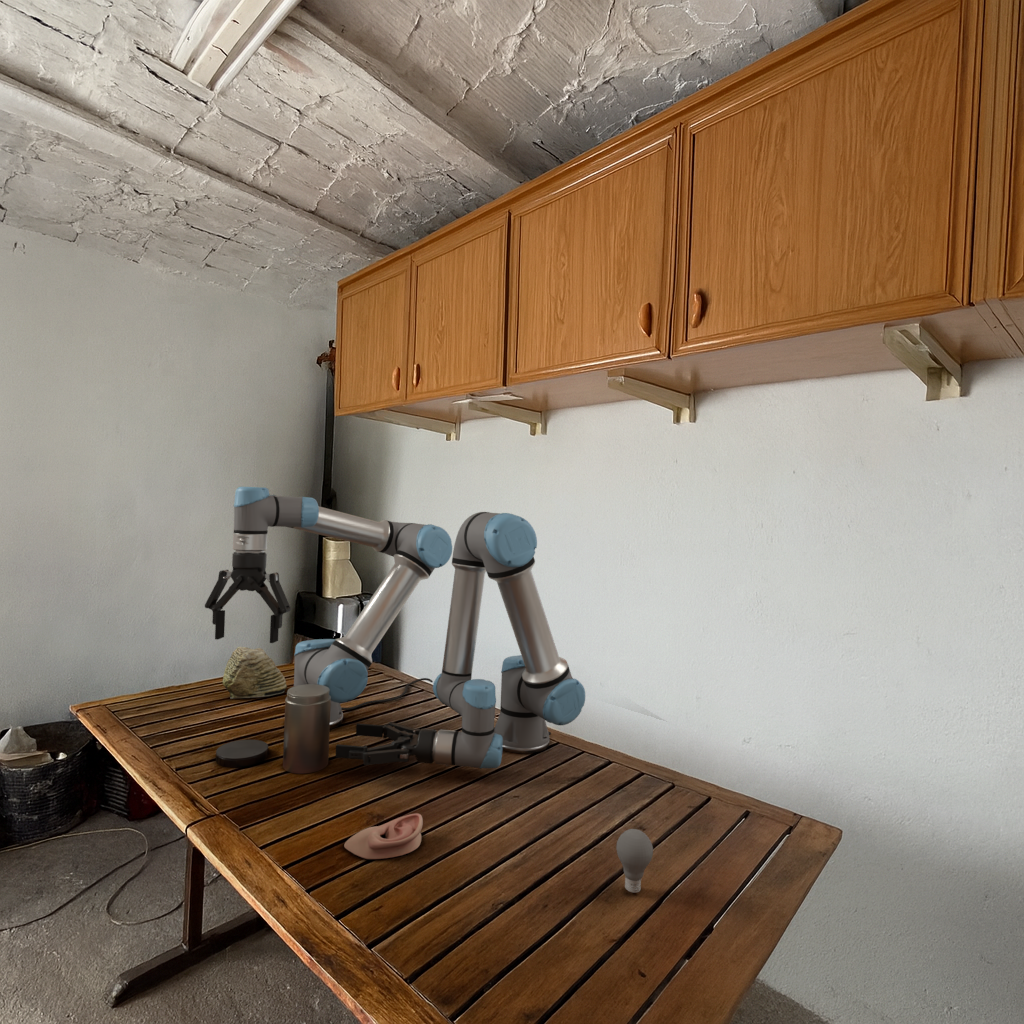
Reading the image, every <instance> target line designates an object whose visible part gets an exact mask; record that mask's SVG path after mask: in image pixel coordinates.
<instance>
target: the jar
mask: <svg viewBox="0 0 1024 1024" xmlns="http://www.w3.org/2000/svg"><path fill="white" fill-rule="evenodd" d="M329 692H330V689H329V688H328V687H327V686H324V685H317V684H306V685H299V686H295V687H294V686H292V687H290V688H288V689H287V692H286V695H287V696H286V697H285V700H284V722H283V723H284V726H283V727H284V728H283V749H282V750H283V751H282V752H283V753H282V769H283V770H284V771H286V772H287V773H291V774H301V775H302V774H311V773H316V772H319V771H321V770H323V769H325V768H326V767H327V766H328V765H329V757H330V756H329V755H330V733H331V732H330V730H331V729H330V707H331V696H330V695H329Z"/></svg>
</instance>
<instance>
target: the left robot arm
mask: <svg viewBox="0 0 1024 1024" xmlns="http://www.w3.org/2000/svg"><path fill="white" fill-rule="evenodd" d="M234 493H235V494H234V504H233V534H232V535H233V537H232V550H234V551H233V553H232V555H231V556H232V557H231V559H232V561H231V562H232V563H231V564H232V565H231V567H232V571H230V570H229V569H222V570H219V572H218V579H217V580H216V583H215V585H214V587H213V588H212V591H211V592H210V594H209V596H208V598H207V600H206V601H205V604H204V608H205V609H208V610H211V611H212V621H211V622H212V625H214V626H215V629H214V630H215V631H214V640H220V639H223V638H225V628H226V627H225V626H226V625H225V623H226V610H224V607H226V604H228V602H230V600H231V599H232V598H233V597H234V596H235V595H236V594H237V592H238V591H243V592H244V591H248V592H256V593H257V594H259V596H260V597H261V598H262V600H263V601H264V602H265V604H266V605H267V607H268V608H269V609H270V610H271V612H272V613H273V614H272V615H270V623H269V624H270V625H269V626H270V627H269V644H274V643H276V642H278V641H279V629H281V628H282V626H283V615H284V614H286V613H288V612H291V610H292V608H291V605H290V603H289V600H288V598H287V596H286V594H285V592H284V589H283V587H282V585H281V582H280V575H279V572H273V573H267V570H266V568H267V555H268V553H266V551H267V550H268V528H269V527H270V528H272V527H273V528H275V527H278V528H279V527H281V528H282V527H283V528H290V529H294V530H299V531H302V532H306V533H311V534H315V535H319V536H320V535H321V536H324V537H329V538H332V539H337V540H341V541H345V542H349V543H354V544H358V545H361V546H367V547H371V548H372V549H373V551H374V552H377V553H380V554H384V555H388V556H391V557H393V559H394V564H393V565H392V567H391V568H390V570H389V571H388V572H387V574H386V576H385V577H384V578H383V580H382V581H381V583H380V584H379V585H378V587H377V589H376V590H375V592H374V593H373V594H372V596H371V597H370V599H369V600H368V601H367V603H366V604H365V606H364V607H363V609H362V611H360V613H359V615H358V616H357V618H356V619H355V621H354V622H353V623H352V625H351V626H350V627H349V629H348V630H347V632H346V634H345V635H344V636H341V637H339V638H335V639H334V638H323V639H322V638H319V639H307V640H303V641H299V642H297V644H296V645H295V650H294V653H293V654H294V655H293V656H294V672H293V687H295V686H299V685H306V684H317V685H324V686H327V687H328V688H329V689H330V692H329V695H330V696H331V707H330V730H332V729H335V728H337V727H339V726H340V725H342V723H343V722H344V713H343V711H351V710H355V709H357V708H361V707H362V706H365V705H371V704H376V703H385V702H393V701H397V700H398V699H400V698H403V696H405V694H407V692H408V689H409V688H408V687H409V686H412V685H414V684H416V683H419V682H422V681H428V682H429V683H434V681H433V680H432V679H430V678H428V677H422V678H418V679H415V680H413V681H411V682H409V683H407V684H406V685H405V688H404V691H403V692H402V693H401V694H400V695H398V696H395V697H391V698H385V699H375V700H369V701H364V702H362V703H359V704H356V705H354V706H350V707H343V706H341V704H344V703H348V702H351V701H353V700H355V699H357V698H358V697H359V696H360V695H362V693H363V692H364V691H365V689H366V687H367V684H368V680H369V677H368V675H369V673H368V671H369V669H370V667H371V666H372V664H373V658H372V654H373V653H374V651H375V649H376V648H377V646H378V645H379V644H380V642H381V640H382V639H383V638H384V636H385V634H386V633H387V632H388V630H389V628H390V627H391V625H392V624H393V622H394V621H395V619H396V618H397V617H398V615H399V613H400V612H401V610H402V609H403V608H404V606H405V604H406V603H407V601H408V600H409V598H410V597H411V595H412V593H413V592H414V591H415V589H416V588H417V586H418V585H419V583H420V582H421V581H423V580H428V579H429V578H430V576H431V575H432V573H433V572H434V570H435V569H439V568H442V567H443V566H445V565H446V564H447V563H448V562H449V560H450V559H451V557H452V555H453V541H452V538H451V536H450V534H449V533H448V532H447V531H446V529H444V528H443V527H440V526H437V525H436V524H435V525H434V524H432V523H431V524H430V523H429V524H424V523H423V524H422V523H415V522H400V521H399V522H398V521H390V520H387V519H382V520H380V521H377V520H372V519H369V518H366V517H361V516H358V515H354V514H350V513H346V512H342V511H338V510H334V509H330V508H328V507H327V508H326V507H323V506H319V504H318V501H317V499H315V498H314V497H306V496H292V495H291V496H290V495H289V496H288V495H277V494H270V490H269V488H267V487H260V486H239V487H237V488H236V489H235V492H234ZM230 579H231V580H232V581H233V582H232V583H231V584H230V586H229V587H228V589H227V590H226V591H225V592H224V589H225V587H226V585H227V583H228V581H229V580H230ZM266 580H267V582H268V583H269V585H270V588H271V590H272V593H273V594H272V593H271V591H270V590H269V587H268V585H267V584H266V583H265V582H266ZM222 592H224V593H223V595H222V596H221V594H222Z"/></svg>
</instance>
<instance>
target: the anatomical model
mask: <svg viewBox="0 0 1024 1024" xmlns="http://www.w3.org/2000/svg"><path fill="white" fill-rule="evenodd" d="M423 820H424V819H423V815H421V814H420V813H409V814H405V815H403V816H400V817H397V818H395V819H392V820H390V821H388V822H386V823H383V824H381V825H378V826H377V825H376V826H370V827H367V828H364V829H362V830H360V831H358V832H356V833H355V834H353V835H352V836H351V837H350V838H348V839H347V840H346V841H345V842H344V845H343V847H344V849H346V850H347V851H348V852H350V853H351V854H353V855H355V856H358V857H360V858H362V859H366V860H381V859H389V858H390V859H391V858H396V857H400V856H404V855H406V854H409V853H412V852H414V851H415V850H417V849H418V848H419V847H420V845H421V842H422V829H423V826H424V825H423V823H424V821H423Z"/></svg>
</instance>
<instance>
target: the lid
mask: <svg viewBox="0 0 1024 1024" xmlns="http://www.w3.org/2000/svg"><path fill="white" fill-rule="evenodd" d="M269 749H270V748H269V744H268V743H267V742H265V741H263V740H258V739H239V740H234V741H229V742H227V743H224V744H222V745H220V746H219V747H218V748H217V749H216V751H215V762H216V763H217V765H219V766H221V767H225V768H245V767H250V766H254V765H257V764H259V763H261V762H264V761H265V760H266V759H267V758H268V757H269Z"/></svg>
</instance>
